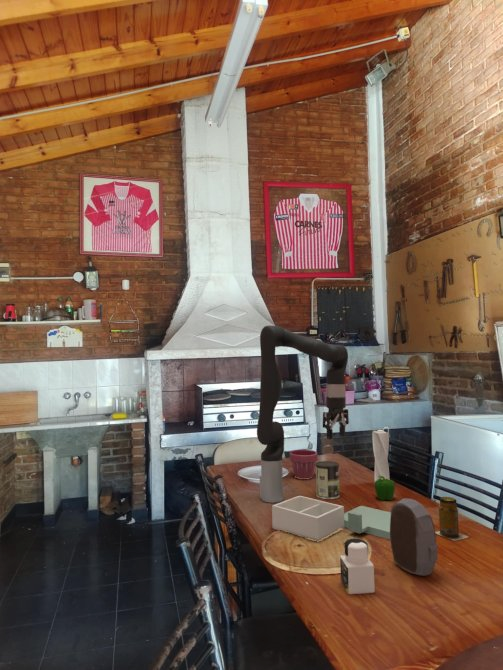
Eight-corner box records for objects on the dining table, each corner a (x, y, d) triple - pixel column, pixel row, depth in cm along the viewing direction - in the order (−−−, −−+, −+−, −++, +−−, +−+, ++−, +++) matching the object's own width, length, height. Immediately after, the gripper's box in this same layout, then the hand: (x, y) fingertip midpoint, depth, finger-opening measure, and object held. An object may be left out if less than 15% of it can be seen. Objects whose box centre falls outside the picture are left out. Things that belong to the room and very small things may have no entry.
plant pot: (319, 481, 227) (319, 454, 228) (291, 481, 228) (290, 455, 228) (316, 473, 242) (315, 449, 242) (289, 474, 242) (288, 449, 242)
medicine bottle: (340, 581, 126) (339, 536, 126) (366, 580, 126) (364, 535, 127) (348, 595, 118) (346, 547, 119) (375, 593, 119) (373, 546, 120)
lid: (327, 528, 164) (326, 507, 165) (361, 512, 181) (360, 492, 181) (384, 545, 149) (383, 521, 149) (415, 525, 166) (414, 504, 166)
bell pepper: (392, 496, 201) (392, 472, 201) (397, 502, 193) (396, 477, 193) (373, 495, 202) (372, 472, 202) (376, 501, 193) (375, 477, 194)
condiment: (448, 529, 162) (447, 494, 162) (469, 537, 154) (467, 501, 155) (433, 533, 158) (432, 497, 159) (453, 541, 151) (452, 504, 151)
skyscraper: (393, 486, 215) (391, 426, 216) (389, 490, 209) (386, 428, 210) (376, 484, 219) (374, 425, 221) (371, 488, 213) (369, 427, 214)
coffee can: (339, 492, 207) (339, 461, 208) (339, 499, 197) (338, 466, 198) (316, 492, 209) (316, 460, 210) (315, 498, 199) (314, 465, 200)
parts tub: (272, 528, 166) (272, 505, 166) (299, 516, 177) (299, 495, 178) (318, 542, 152) (317, 518, 152) (344, 529, 163) (343, 506, 164)
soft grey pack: (386, 561, 137) (384, 493, 138) (408, 556, 140) (406, 489, 141) (423, 584, 123) (421, 508, 124) (447, 577, 127) (444, 503, 128)
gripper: (338, 393, 187) (338, 433, 187) (317, 396, 177) (317, 438, 177) (354, 395, 182) (354, 436, 181) (333, 397, 172) (333, 441, 171)
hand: (336, 437), depth 179 cm, fingers open, 8 cm apart
